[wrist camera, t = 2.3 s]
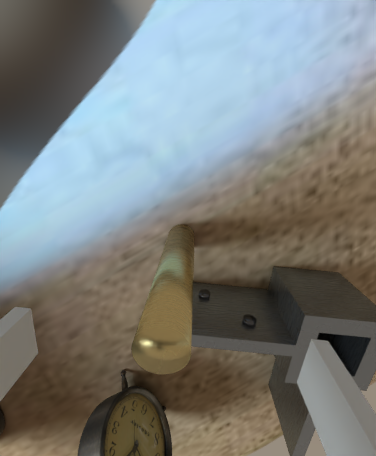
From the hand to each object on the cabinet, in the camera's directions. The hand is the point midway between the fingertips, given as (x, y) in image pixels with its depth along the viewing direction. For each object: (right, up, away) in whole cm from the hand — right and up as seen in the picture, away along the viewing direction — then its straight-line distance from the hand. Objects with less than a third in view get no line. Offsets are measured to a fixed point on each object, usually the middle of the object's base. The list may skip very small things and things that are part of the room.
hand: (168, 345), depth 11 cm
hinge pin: (0, +5, +14) cm, 15 cm away
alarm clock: (-6, -17, +22) cm, 29 cm away
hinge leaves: (+8, -7, +18) cm, 20 cm away
